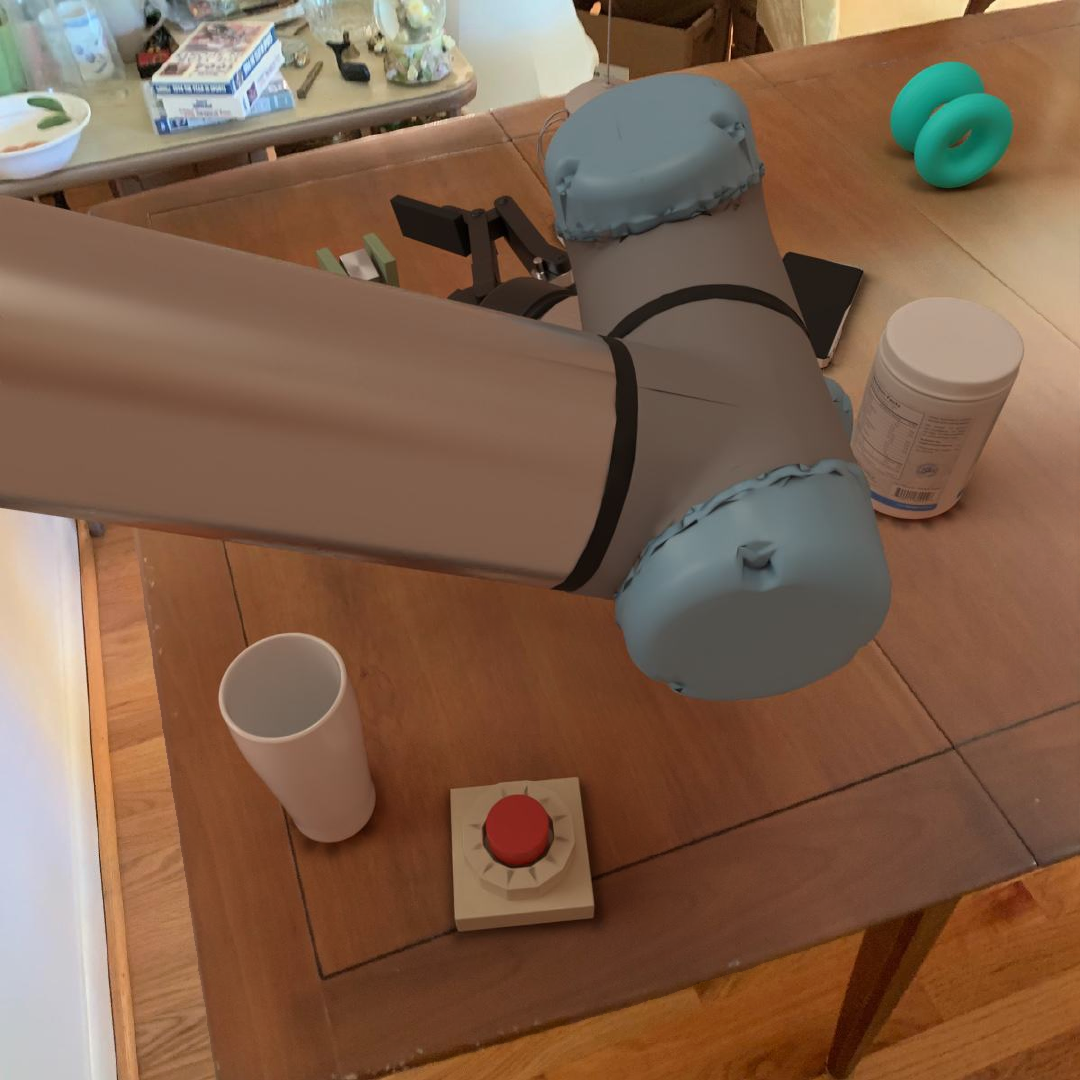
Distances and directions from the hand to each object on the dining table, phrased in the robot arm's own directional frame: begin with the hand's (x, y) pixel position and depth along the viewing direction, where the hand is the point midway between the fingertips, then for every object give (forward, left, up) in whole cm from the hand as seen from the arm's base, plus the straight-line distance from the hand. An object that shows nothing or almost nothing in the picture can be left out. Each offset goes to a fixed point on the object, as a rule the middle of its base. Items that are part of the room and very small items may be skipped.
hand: (324, 269), depth 63 cm
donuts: (+62, +41, -21) cm, 77 cm away
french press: (+23, +34, -21) cm, 46 cm away
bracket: (+1, +12, -21) cm, 24 cm away
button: (+10, -32, -17) cm, 38 cm away
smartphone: (+41, +18, -21) cm, 49 cm away
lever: (+2, +8, -12) cm, 15 cm away
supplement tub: (+43, -4, -21) cm, 48 cm away
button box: (+10, -32, -21) cm, 39 cm away
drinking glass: (-2, -27, -21) cm, 35 cm away
